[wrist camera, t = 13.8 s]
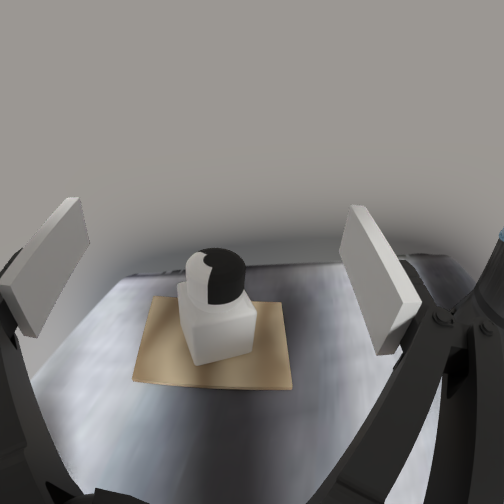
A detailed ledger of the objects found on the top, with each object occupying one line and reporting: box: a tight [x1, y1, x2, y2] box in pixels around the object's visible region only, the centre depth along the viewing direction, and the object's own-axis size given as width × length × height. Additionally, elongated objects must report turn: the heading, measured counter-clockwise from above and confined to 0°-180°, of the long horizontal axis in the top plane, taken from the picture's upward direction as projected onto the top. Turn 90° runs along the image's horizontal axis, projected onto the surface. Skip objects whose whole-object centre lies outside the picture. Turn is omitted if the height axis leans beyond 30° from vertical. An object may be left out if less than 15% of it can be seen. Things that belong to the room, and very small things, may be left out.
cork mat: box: [132, 296, 292, 390], centre depth 39 cm, size 18×14×1 cm
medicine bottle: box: [177, 248, 257, 366], centre depth 35 cm, size 7×7×12 cm
